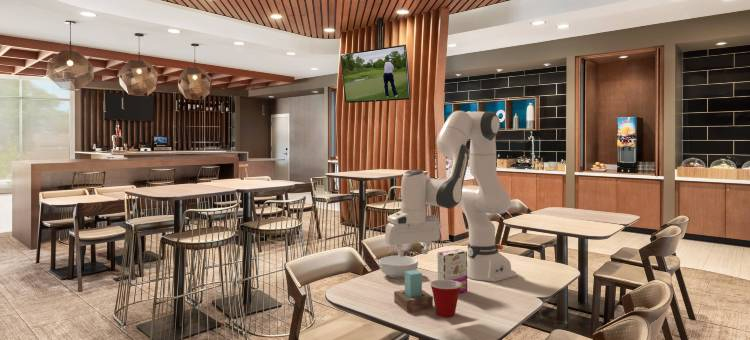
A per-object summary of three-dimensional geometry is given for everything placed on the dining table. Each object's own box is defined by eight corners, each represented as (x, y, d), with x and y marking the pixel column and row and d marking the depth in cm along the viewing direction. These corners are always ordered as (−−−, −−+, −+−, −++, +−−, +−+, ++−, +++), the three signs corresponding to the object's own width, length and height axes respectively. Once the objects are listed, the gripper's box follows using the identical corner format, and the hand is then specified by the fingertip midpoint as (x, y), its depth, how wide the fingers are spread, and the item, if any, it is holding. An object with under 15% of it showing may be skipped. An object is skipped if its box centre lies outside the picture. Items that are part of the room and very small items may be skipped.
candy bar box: (459, 288, 186) (460, 248, 184) (467, 292, 181) (468, 251, 180) (436, 293, 181) (436, 251, 179) (444, 297, 176) (444, 254, 175)
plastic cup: (461, 311, 162) (461, 278, 161) (462, 324, 152) (462, 288, 151) (430, 309, 164) (430, 276, 163) (428, 322, 154) (428, 286, 153)
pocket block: (419, 300, 173) (419, 287, 172) (432, 310, 163) (432, 296, 163) (394, 304, 169) (394, 291, 168) (406, 315, 160) (406, 301, 159)
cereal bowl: (424, 273, 205) (424, 258, 205) (406, 284, 191) (406, 267, 191) (391, 268, 214) (391, 252, 214) (371, 277, 200) (371, 261, 200)
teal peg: (415, 301, 169) (415, 269, 168) (421, 306, 165) (421, 273, 164) (404, 303, 167) (404, 271, 166) (410, 308, 163) (410, 274, 162)
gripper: (434, 213, 170) (433, 250, 171) (383, 216, 162) (383, 255, 163) (443, 215, 164) (442, 254, 165) (390, 219, 157) (390, 260, 158)
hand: (412, 255), depth 164 cm, fingers open, 8 cm apart
